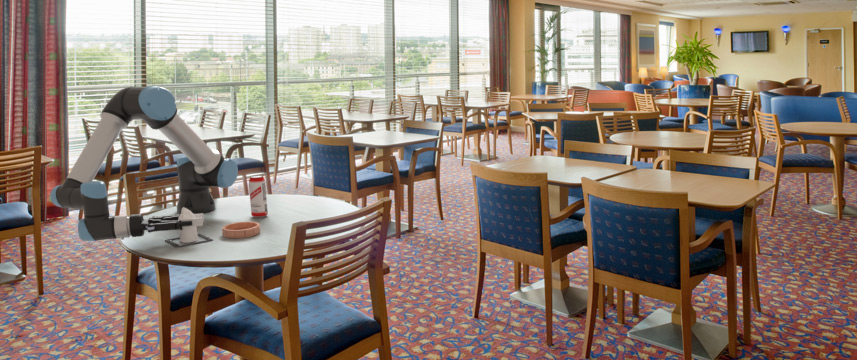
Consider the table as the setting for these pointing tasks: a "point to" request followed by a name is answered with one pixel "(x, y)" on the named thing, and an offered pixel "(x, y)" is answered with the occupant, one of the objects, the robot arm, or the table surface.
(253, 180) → the beer can
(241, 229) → the bowl
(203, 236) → the dark grey square frame
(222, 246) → the table surface
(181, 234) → the white tapered upright piece
